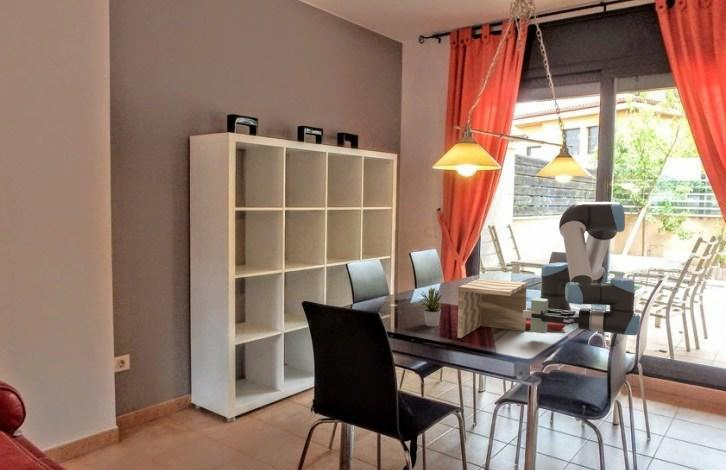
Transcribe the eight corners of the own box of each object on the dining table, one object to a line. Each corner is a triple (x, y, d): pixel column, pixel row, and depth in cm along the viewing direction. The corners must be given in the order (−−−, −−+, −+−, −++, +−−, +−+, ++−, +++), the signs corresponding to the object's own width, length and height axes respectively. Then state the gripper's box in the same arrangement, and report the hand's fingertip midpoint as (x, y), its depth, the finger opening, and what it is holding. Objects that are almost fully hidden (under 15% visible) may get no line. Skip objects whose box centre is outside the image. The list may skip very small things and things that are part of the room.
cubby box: (478, 324, 226) (479, 278, 224) (525, 330, 216) (526, 282, 214) (457, 337, 205) (458, 286, 203) (508, 344, 195) (509, 291, 193)
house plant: (411, 320, 232) (411, 283, 231) (442, 320, 233) (443, 283, 232) (416, 328, 218) (417, 289, 217) (450, 328, 219) (450, 288, 218)
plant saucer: (514, 320, 234) (514, 313, 234) (557, 322, 232) (558, 314, 231) (520, 331, 217) (520, 322, 216) (566, 332, 214) (567, 324, 214)
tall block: (533, 328, 204) (534, 297, 203) (547, 330, 202) (548, 299, 201) (530, 331, 200) (531, 299, 199) (544, 333, 197) (545, 301, 196)
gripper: (586, 335, 184) (518, 327, 195) (594, 324, 199) (530, 317, 211) (587, 314, 183) (519, 306, 195) (595, 305, 198) (531, 298, 210)
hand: (525, 312), depth 203 cm, fingers closed on tall block, 5 cm apart
